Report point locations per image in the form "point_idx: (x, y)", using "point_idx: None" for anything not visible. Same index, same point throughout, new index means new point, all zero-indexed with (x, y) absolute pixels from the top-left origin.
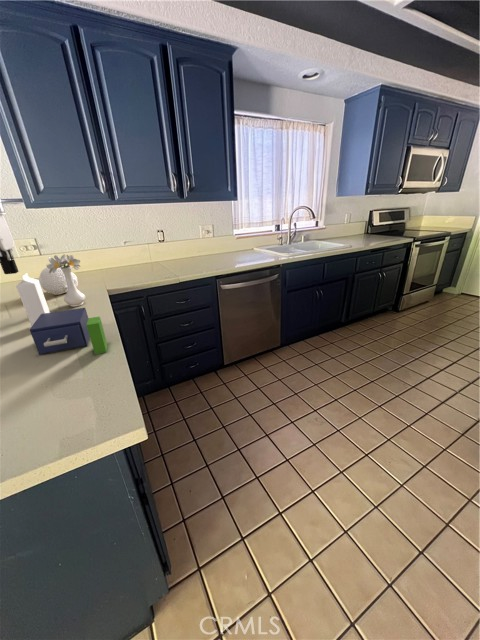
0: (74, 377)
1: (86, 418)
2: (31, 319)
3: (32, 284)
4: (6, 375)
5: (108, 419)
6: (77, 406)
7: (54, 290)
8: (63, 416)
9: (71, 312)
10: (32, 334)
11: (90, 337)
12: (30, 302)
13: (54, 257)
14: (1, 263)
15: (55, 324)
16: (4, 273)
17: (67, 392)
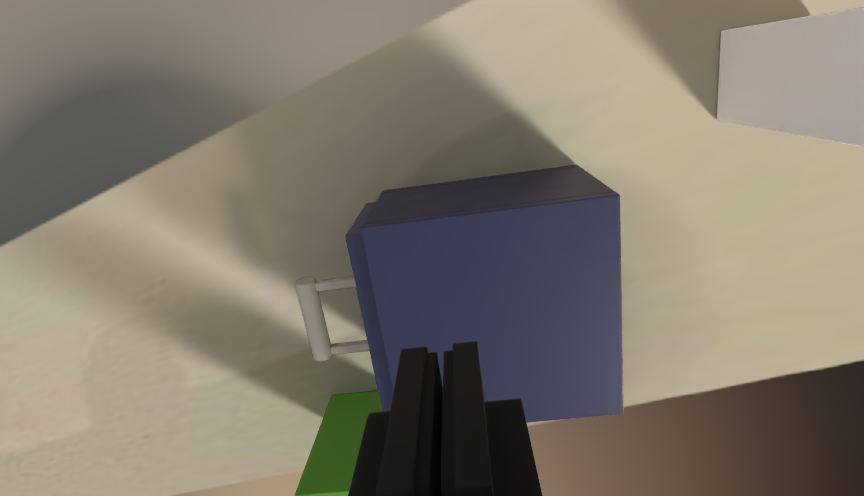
0: (191, 364)
1: (10, 432)
2: (761, 38)
3: None
4: (237, 126)
5: (8, 475)
6: (53, 404)
7: None
8: (16, 383)
9: (563, 364)
10: (346, 236)
11: (312, 448)
12: (849, 68)
13: None
14: (383, 474)
15: (396, 335)
16: (402, 350)
17: (114, 365)
